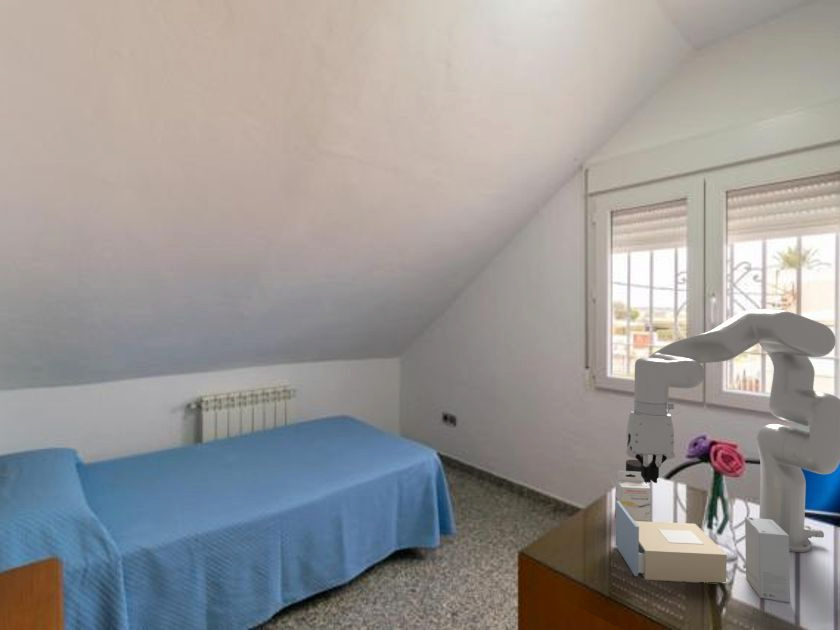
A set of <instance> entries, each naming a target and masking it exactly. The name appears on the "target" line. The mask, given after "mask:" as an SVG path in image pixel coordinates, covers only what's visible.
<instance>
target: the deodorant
mask: <svg viewBox="0 0 840 630" xmlns="http://www.w3.org/2000/svg"><path fill="white" fill-rule="evenodd" d="M625 471H634V472H641V463H640V462H639V461H638V460H637V459H628V460H626V461H625ZM626 477H635V475H632V474H630V475H626ZM644 482H645V483H646V484H647V485H648V483H647V482H646V481H645V480H644Z"/></svg>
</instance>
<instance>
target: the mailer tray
mask: <svg viewBox="0 0 840 630" xmlns="http://www.w3.org/2000/svg"><path fill="white" fill-rule="evenodd" d="M615 546H616V548H617V550H618V551H619V553H620V555H621V556H622V557H623V559H624V561H625V562H626V564H627V565H628V567H629V569H630V571H631V572H632V574H633V576H635V577H639V574H642V573H644V571H645V551H644V550H643V548H642V547H641V546H640V544H639V526H638V525H637V524H636V522H635V521H634V520H633V518H632V517H631V516H630V514H629V513H628V512H627V511H626V509H625V508H624V507H623V505H622V504H621V503H620V501H616V518H615Z"/></svg>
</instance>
